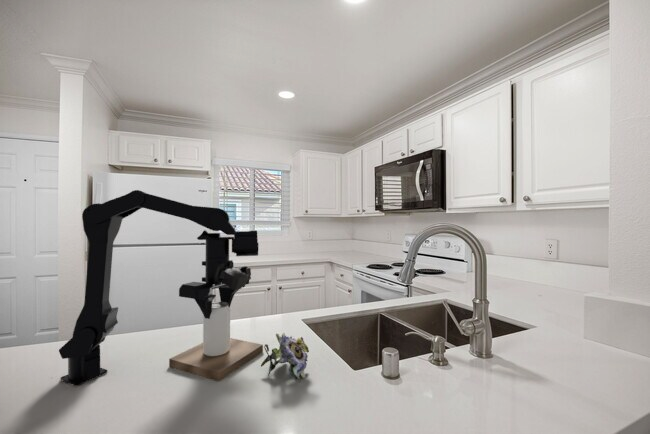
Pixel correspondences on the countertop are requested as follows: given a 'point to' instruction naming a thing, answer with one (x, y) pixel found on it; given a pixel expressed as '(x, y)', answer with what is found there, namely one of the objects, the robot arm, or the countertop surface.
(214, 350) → the can
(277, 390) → the countertop surface
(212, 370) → the cutting board
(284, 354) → the passion flower
